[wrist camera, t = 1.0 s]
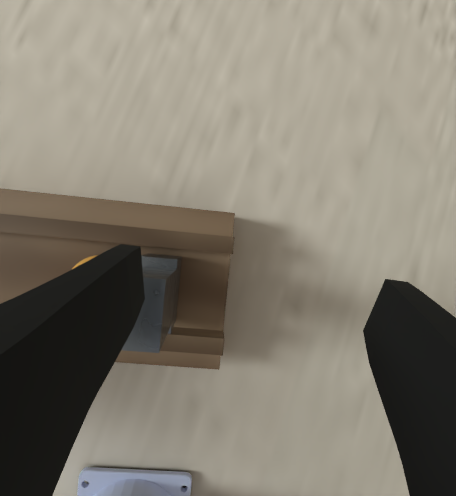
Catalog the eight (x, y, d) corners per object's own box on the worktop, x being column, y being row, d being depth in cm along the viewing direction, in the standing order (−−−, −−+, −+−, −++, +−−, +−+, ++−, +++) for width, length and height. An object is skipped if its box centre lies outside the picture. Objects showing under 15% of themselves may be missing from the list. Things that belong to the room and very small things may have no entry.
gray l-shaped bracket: (175, 320, 19) (157, 365, 12) (143, 317, 19) (107, 361, 12) (181, 256, 19) (167, 267, 12) (149, 253, 19) (116, 262, 12)
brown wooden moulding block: (217, 351, 22) (220, 380, 18) (-39, 332, 21) (-104, 357, 17) (231, 216, 22) (236, 211, 18) (-28, 189, 21) (-93, 176, 17)
